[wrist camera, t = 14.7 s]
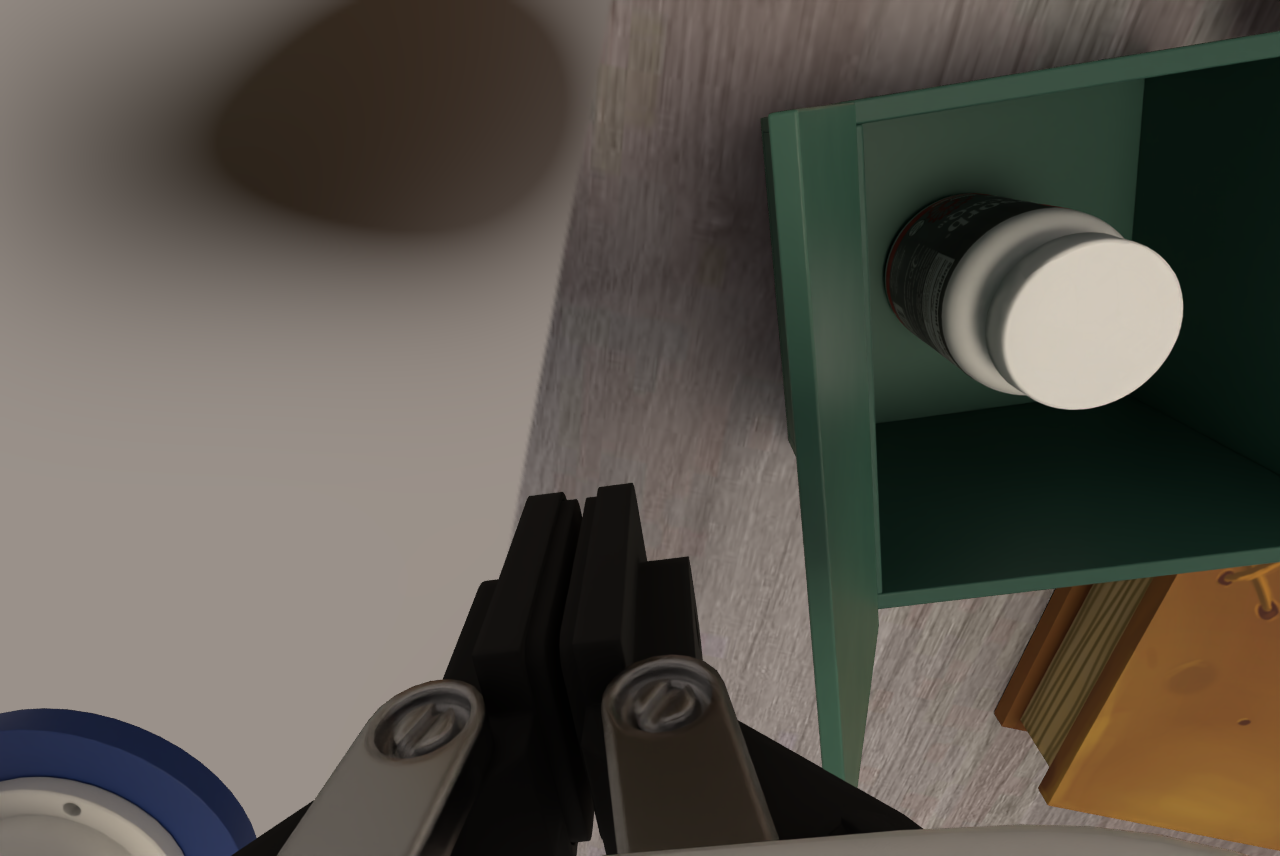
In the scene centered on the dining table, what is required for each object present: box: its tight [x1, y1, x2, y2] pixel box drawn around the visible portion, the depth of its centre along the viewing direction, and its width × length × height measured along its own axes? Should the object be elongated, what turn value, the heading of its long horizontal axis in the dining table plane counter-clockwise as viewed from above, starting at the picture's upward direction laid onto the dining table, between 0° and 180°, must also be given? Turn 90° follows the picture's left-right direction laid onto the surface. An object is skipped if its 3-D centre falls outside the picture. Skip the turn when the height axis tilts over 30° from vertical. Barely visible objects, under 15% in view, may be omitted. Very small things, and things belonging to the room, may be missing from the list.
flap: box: [768, 103, 879, 788], centre depth 15 cm, size 7×13×1 cm
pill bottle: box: [885, 193, 1183, 410], centre depth 24 cm, size 6×6×10 cm
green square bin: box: [761, 31, 1280, 609], centre depth 24 cm, size 14×13×12 cm
